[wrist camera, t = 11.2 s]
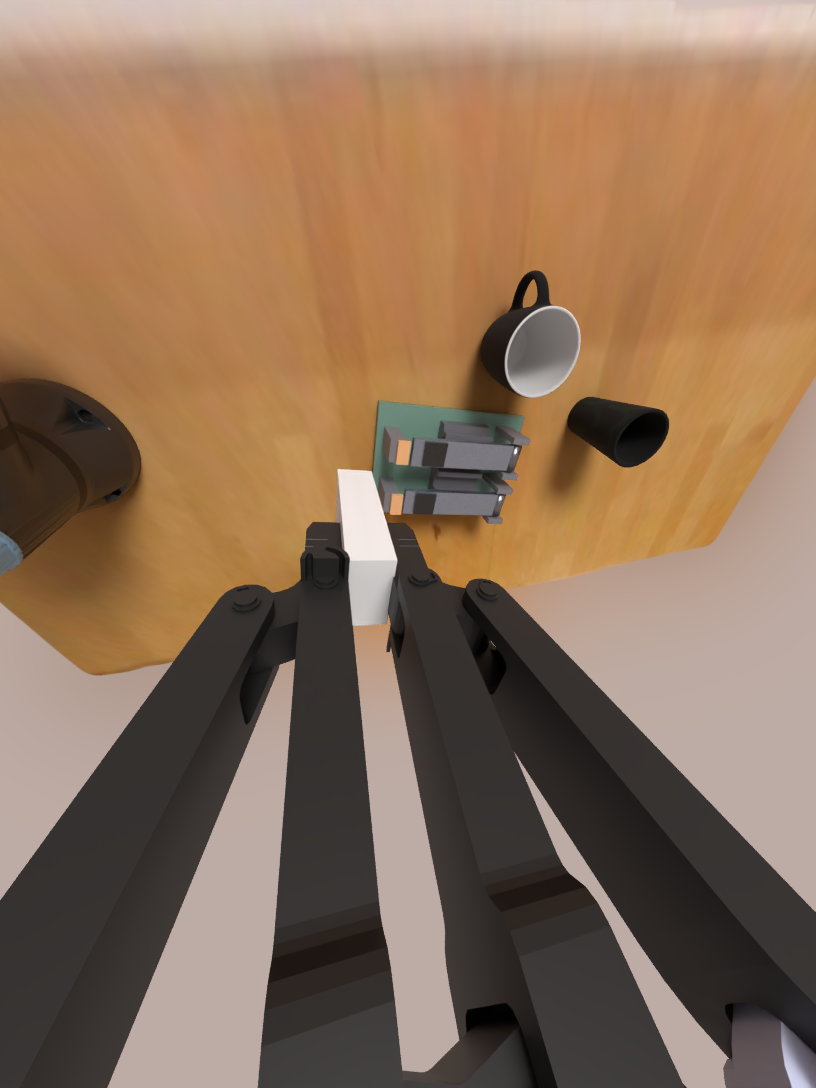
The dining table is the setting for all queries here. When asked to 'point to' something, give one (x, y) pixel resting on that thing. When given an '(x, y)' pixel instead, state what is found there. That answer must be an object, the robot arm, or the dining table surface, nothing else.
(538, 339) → the mug
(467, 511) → the strap far
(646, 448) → the cup
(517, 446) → the strap near
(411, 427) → the socket board
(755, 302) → the dining table surface
